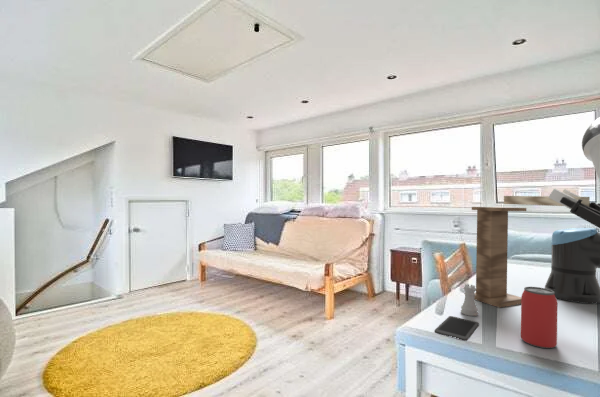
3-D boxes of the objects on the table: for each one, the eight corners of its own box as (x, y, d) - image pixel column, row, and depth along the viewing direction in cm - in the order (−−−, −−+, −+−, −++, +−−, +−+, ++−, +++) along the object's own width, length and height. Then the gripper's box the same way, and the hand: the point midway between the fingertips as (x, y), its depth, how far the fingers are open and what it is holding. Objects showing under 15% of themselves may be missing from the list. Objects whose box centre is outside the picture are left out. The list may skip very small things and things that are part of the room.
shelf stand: (524, 303, 102) (526, 207, 102) (499, 307, 97) (501, 207, 97) (494, 294, 111) (495, 207, 111) (470, 298, 106) (471, 206, 106)
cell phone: (433, 333, 78) (433, 330, 78) (449, 318, 89) (449, 315, 89) (466, 342, 74) (466, 339, 74) (479, 325, 84) (479, 322, 84)
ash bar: (589, 206, 84) (589, 196, 84) (580, 206, 82) (580, 196, 82) (512, 203, 102) (512, 195, 102) (503, 203, 101) (503, 195, 101)
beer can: (524, 346, 71) (525, 291, 71) (517, 334, 78) (518, 284, 78) (561, 352, 69) (562, 295, 69) (551, 339, 75) (551, 288, 75)
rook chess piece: (471, 317, 89) (472, 288, 89) (457, 312, 93) (457, 284, 93) (481, 315, 91) (482, 286, 91) (467, 310, 95) (467, 282, 95)
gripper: (629, 262, 69) (530, 204, 87) (666, 257, 76) (567, 205, 94) (655, 233, 65) (545, 179, 84) (691, 231, 72) (582, 182, 91)
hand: (557, 193), depth 89 cm, fingers closed on ash bar, 4 cm apart
